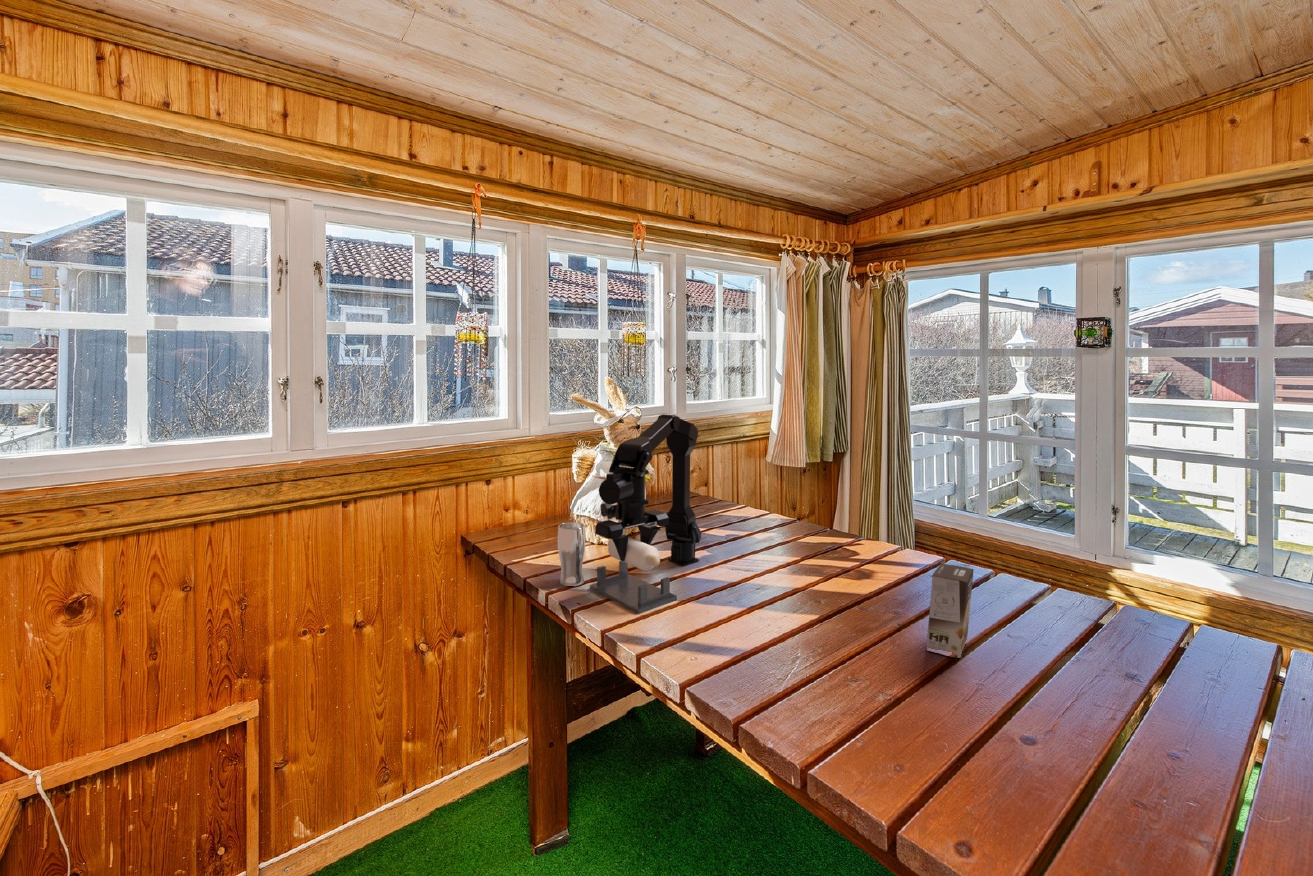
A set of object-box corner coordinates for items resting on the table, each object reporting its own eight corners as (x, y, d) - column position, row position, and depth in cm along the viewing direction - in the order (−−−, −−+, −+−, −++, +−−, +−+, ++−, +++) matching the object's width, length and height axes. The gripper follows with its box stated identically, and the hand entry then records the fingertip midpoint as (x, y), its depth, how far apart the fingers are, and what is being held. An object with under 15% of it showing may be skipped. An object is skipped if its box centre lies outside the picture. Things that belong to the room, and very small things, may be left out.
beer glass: (580, 588, 151) (580, 530, 149) (554, 586, 153) (553, 528, 150) (589, 578, 158) (588, 522, 156) (563, 576, 159) (563, 521, 157)
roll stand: (627, 577, 159) (627, 557, 158) (676, 600, 145) (677, 578, 144) (589, 588, 151) (589, 567, 150) (638, 614, 137) (638, 590, 136)
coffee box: (960, 661, 118) (967, 582, 115) (925, 651, 121) (931, 575, 119) (967, 642, 125) (974, 568, 123) (934, 634, 129) (940, 561, 126)
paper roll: (602, 557, 151) (602, 534, 150) (621, 552, 155) (621, 529, 154) (646, 577, 139) (646, 552, 138) (665, 570, 143) (665, 546, 142)
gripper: (641, 483, 157) (640, 542, 159) (581, 495, 144) (581, 557, 147) (670, 491, 148) (669, 552, 151) (609, 504, 136) (609, 570, 138)
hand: (632, 558), depth 147 cm, fingers closed on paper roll, 6 cm apart
